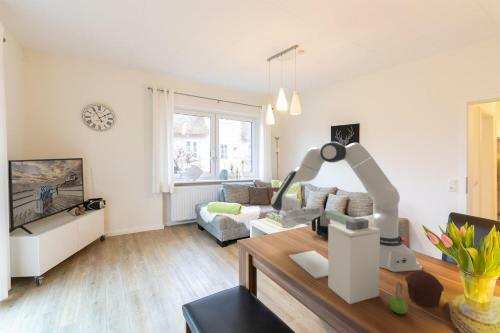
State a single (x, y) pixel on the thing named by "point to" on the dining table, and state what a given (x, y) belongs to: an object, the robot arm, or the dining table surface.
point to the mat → (312, 263)
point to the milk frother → (321, 224)
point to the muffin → (424, 289)
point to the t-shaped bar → (348, 220)
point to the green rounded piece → (398, 301)
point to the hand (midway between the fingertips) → (311, 209)
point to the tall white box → (353, 262)
